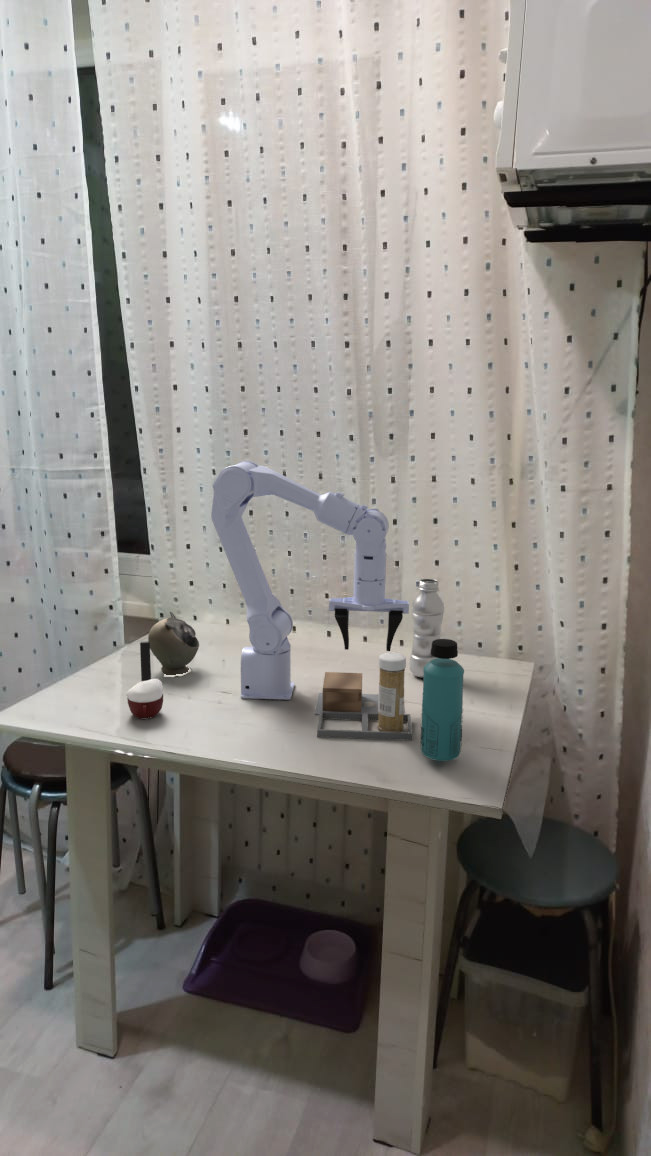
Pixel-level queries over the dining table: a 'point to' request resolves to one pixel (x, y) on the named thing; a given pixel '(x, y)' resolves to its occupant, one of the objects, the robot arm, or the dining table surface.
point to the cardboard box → (342, 692)
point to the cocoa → (145, 689)
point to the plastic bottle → (425, 624)
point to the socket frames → (364, 733)
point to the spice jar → (391, 692)
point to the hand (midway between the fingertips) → (367, 648)
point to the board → (367, 704)
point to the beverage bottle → (442, 703)
